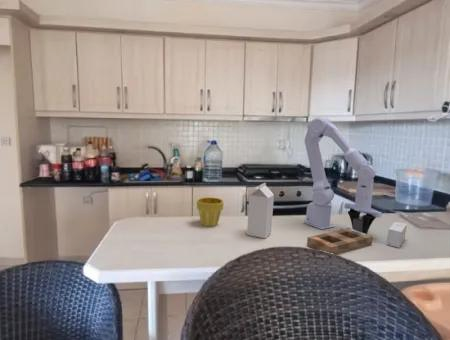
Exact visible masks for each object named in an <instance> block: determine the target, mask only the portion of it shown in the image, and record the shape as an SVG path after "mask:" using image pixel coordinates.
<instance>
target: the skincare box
mask: <svg viewBox="0 0 450 340" xmlns="http://www.w3.org/2000/svg"><path fill="white" fill-rule="evenodd" d="M406 231H407V223H402V222H398V221H394V222H393V223H392V224H391V225H390V227H389V228H388V231H387V238H386V245H387V246H390V247H395V248H400V247H401V246H402V244H403V242H404V240H405V239H406V238H405V237H406Z"/></svg>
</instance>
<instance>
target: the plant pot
mask: <svg viewBox="0 0 450 340" xmlns="http://www.w3.org/2000/svg"><path fill="white" fill-rule="evenodd" d="M196 209H197V210H198V214H199V219H200V224H201V225H202V226H203V227H210V228H211V227H215V226H218V225H219V221H220V217H221V212H222V211H223V209H224V199H222V198H219V197H213V196H212V197H210V196H209V197H208V196H206V197H201V198H200V197H199V198H198V199H197V200H196Z"/></svg>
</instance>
